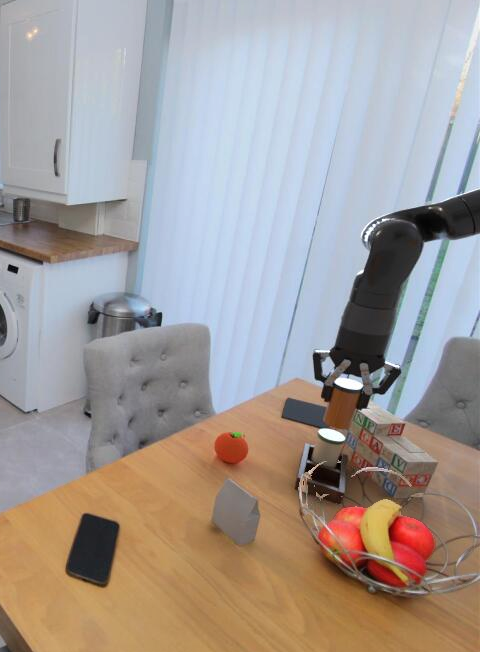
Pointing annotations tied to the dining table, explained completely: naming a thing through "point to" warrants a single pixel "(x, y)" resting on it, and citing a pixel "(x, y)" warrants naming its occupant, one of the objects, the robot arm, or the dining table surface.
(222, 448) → the red tomato
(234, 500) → the grey paper bag
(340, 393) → the amber jar
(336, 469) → the rack
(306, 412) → the mat
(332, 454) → the beige jar
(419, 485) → the stack of blocks
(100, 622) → the dining table surface
